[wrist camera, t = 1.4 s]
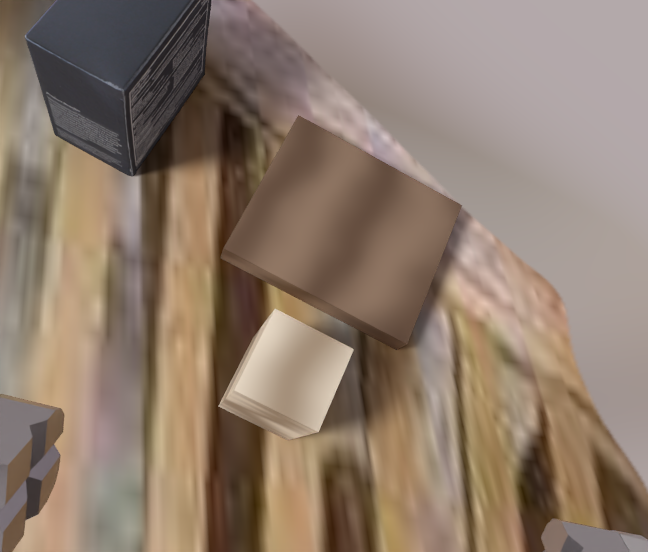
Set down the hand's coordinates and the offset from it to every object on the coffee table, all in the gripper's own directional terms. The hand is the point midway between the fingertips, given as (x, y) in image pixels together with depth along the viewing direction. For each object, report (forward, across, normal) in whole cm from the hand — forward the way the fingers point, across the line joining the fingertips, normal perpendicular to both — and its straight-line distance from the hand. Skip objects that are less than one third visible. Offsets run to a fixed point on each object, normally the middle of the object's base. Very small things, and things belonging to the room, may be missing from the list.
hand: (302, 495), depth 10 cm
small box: (+37, +16, -1) cm, 40 cm away
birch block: (+28, +1, +14) cm, 31 cm away
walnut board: (+36, -2, +5) cm, 36 cm away
